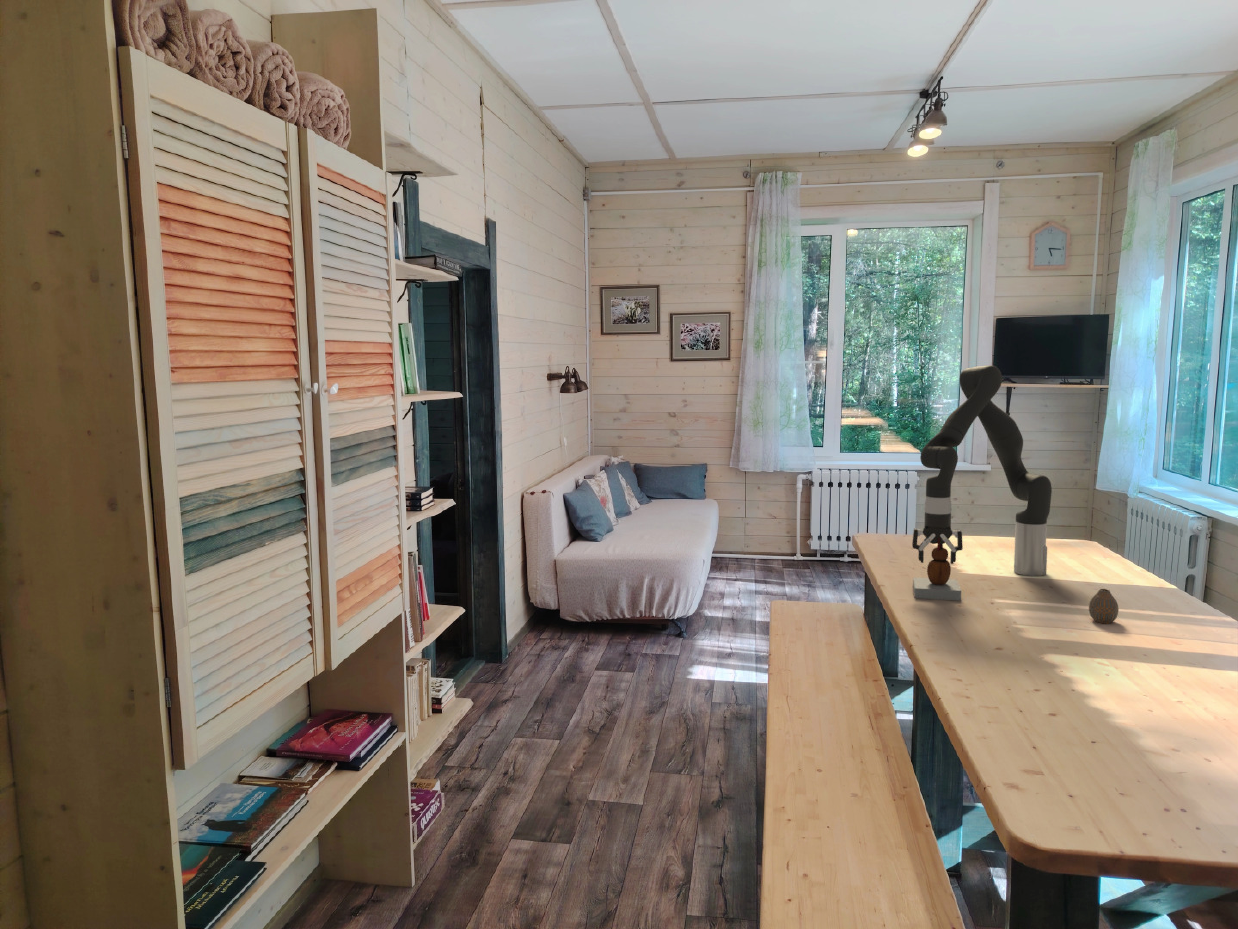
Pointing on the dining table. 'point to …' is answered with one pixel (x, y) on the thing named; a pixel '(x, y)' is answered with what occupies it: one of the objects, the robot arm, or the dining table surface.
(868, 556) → the dining table surface
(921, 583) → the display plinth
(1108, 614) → the vase
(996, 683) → the dining table surface
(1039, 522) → the robot arm
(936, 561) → the wooden figurine
